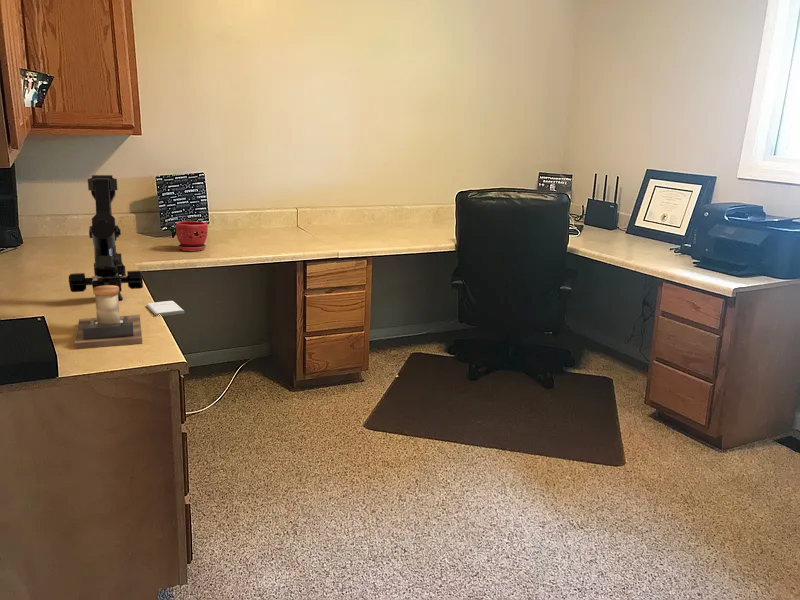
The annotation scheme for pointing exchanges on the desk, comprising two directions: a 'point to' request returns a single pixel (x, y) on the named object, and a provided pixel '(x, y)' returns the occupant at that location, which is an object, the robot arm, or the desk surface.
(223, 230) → the desk surface
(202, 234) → the plant pot
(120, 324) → the grey slider guide rails
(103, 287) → the knob slider
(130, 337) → the track board
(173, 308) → the external hard drive
